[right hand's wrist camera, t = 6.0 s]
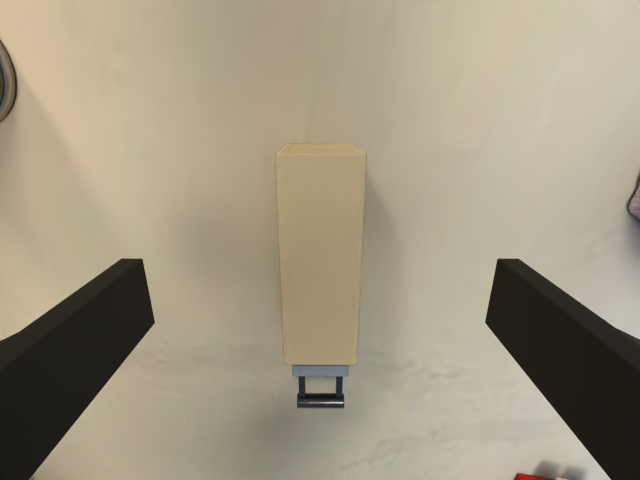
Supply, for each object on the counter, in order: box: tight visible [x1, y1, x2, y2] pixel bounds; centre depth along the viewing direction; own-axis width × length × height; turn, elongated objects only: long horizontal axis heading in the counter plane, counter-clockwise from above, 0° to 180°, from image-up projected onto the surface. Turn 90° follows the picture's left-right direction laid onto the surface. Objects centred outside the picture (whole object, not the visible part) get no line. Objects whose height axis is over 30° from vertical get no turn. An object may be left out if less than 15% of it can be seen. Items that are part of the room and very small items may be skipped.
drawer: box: [293, 365, 349, 408], centre depth 31 cm, size 22×5×6 cm, turn 0°
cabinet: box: [275, 144, 367, 365], centre depth 29 cm, size 17×6×8 cm, turn 0°
